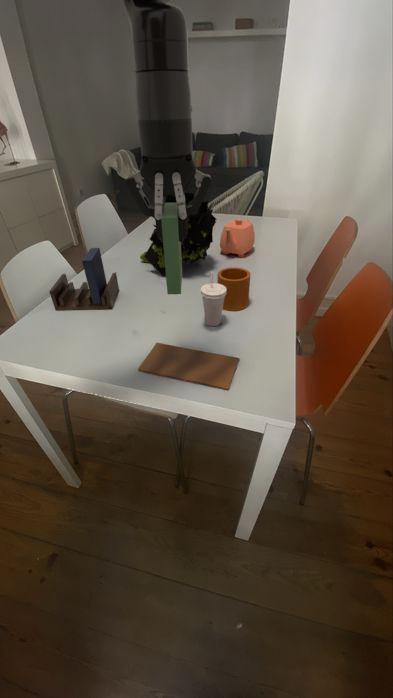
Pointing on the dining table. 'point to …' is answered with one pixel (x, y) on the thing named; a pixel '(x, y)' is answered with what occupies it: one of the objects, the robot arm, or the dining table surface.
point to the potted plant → (193, 243)
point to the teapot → (237, 237)
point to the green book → (172, 248)
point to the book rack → (82, 295)
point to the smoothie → (213, 301)
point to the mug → (235, 287)
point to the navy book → (95, 274)
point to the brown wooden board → (190, 365)
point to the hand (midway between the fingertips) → (172, 240)
